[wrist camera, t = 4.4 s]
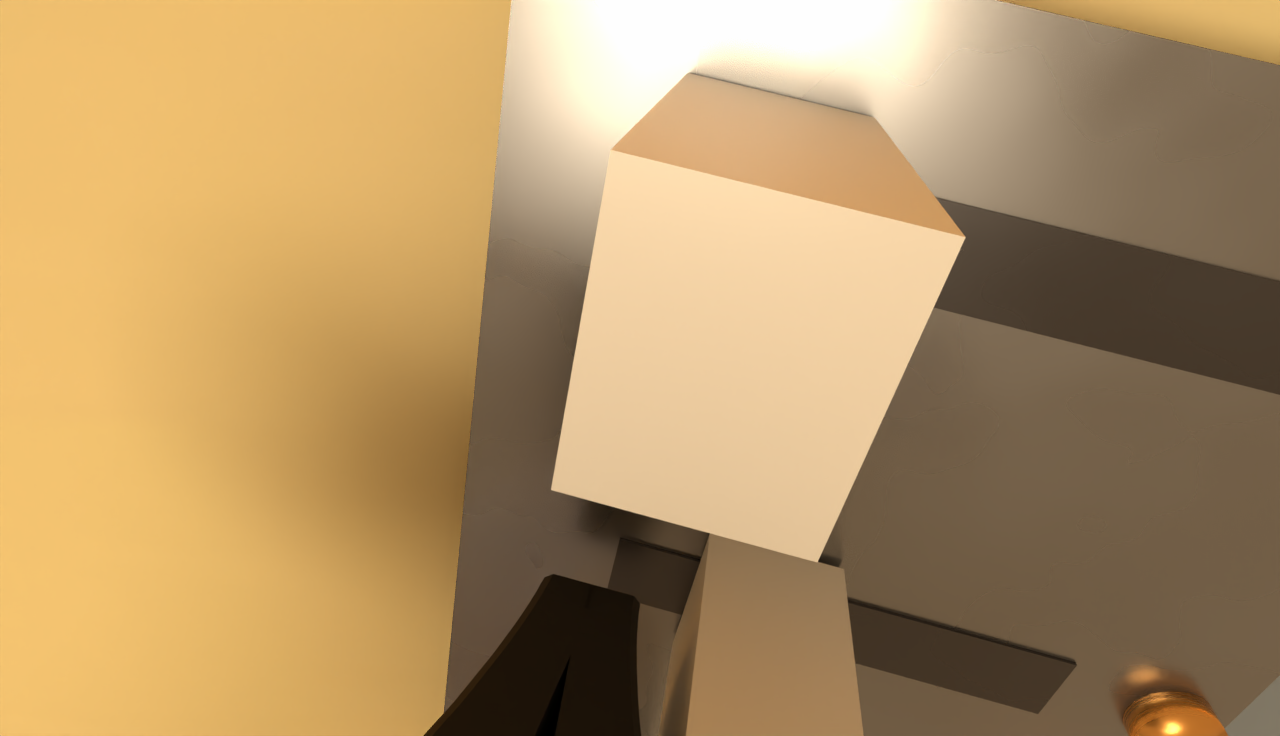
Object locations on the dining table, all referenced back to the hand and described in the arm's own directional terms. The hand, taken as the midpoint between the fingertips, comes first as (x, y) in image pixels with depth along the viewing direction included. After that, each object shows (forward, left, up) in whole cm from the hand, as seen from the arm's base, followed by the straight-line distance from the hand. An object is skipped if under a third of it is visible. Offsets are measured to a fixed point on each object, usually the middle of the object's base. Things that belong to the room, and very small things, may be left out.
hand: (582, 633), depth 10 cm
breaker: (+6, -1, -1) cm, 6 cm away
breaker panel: (0, -4, -3) cm, 5 cm away
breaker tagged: (0, -2, -1) cm, 3 cm away
